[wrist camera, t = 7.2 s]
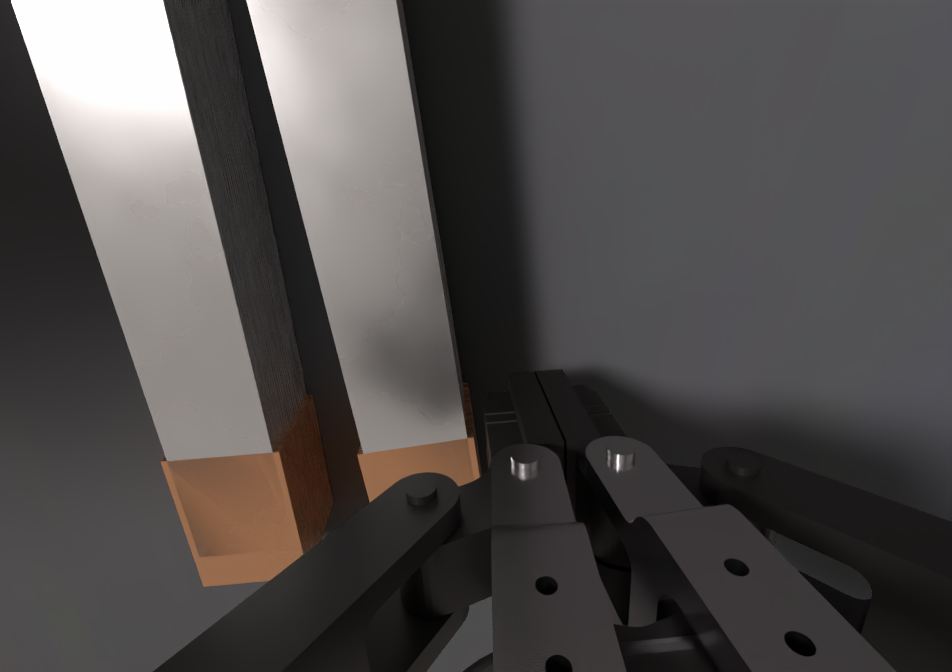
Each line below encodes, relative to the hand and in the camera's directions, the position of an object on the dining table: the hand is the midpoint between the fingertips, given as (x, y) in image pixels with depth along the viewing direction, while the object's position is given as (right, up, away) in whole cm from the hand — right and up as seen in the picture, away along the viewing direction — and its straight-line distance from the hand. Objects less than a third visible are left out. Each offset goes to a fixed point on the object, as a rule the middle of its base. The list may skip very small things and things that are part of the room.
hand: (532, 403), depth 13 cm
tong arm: (-4, +5, -1) cm, 7 cm away
